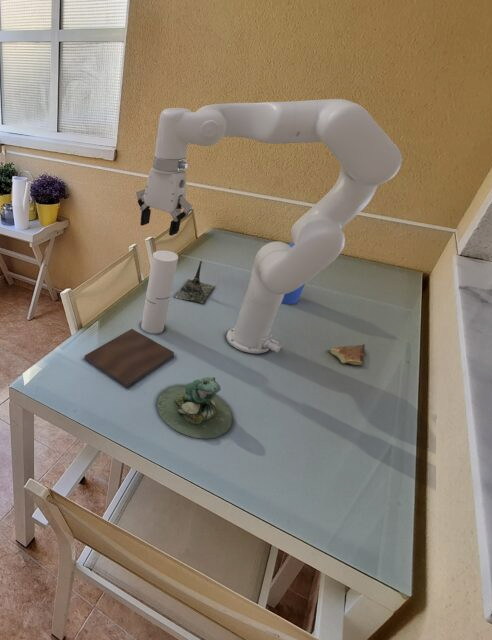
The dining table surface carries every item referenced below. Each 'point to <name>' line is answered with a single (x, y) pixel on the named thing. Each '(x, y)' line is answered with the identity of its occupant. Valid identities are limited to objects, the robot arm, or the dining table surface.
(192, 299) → the eiffel tower figurine
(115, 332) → the dining table surface
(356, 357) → the shard
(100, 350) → the board
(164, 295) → the cylindrical container
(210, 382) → the frog figurine
